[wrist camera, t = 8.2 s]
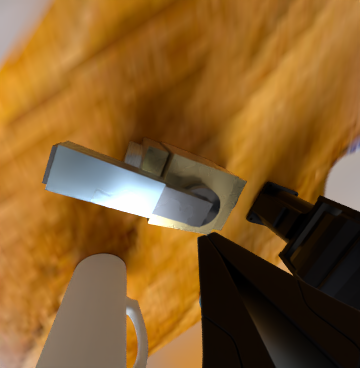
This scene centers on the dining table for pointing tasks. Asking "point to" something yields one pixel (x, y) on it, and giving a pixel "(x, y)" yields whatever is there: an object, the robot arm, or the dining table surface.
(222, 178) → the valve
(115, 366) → the mug
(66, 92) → the dining table surface
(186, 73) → the dining table surface
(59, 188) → the lever
